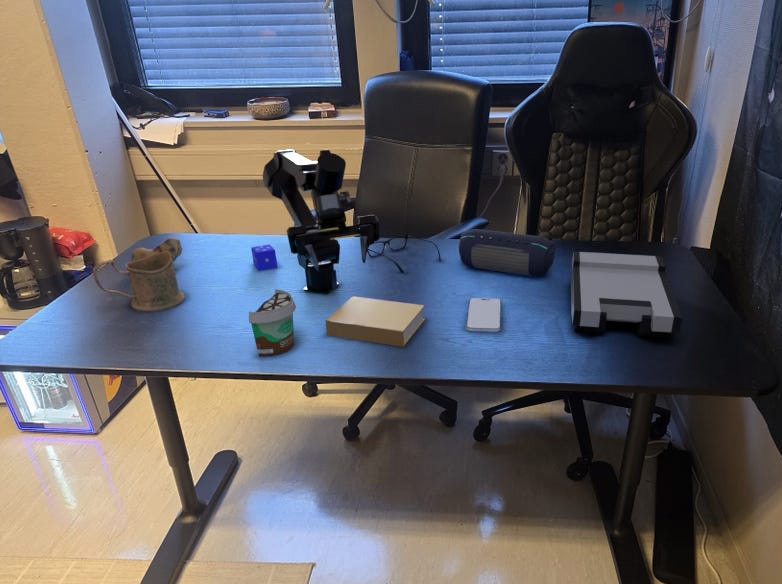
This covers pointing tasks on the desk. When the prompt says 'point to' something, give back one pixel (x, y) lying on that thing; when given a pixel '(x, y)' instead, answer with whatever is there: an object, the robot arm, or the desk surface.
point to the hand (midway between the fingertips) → (341, 265)
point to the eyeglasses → (397, 249)
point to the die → (264, 257)
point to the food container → (274, 325)
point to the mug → (150, 282)
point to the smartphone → (484, 315)
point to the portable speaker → (506, 252)
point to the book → (375, 321)
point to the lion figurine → (159, 250)
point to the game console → (622, 293)
